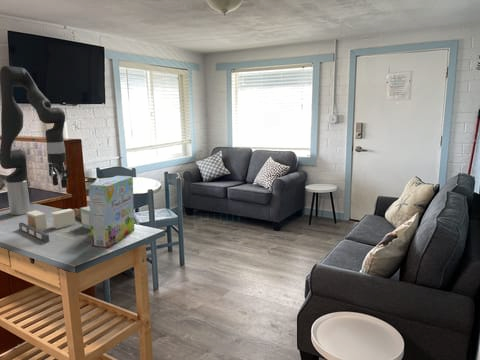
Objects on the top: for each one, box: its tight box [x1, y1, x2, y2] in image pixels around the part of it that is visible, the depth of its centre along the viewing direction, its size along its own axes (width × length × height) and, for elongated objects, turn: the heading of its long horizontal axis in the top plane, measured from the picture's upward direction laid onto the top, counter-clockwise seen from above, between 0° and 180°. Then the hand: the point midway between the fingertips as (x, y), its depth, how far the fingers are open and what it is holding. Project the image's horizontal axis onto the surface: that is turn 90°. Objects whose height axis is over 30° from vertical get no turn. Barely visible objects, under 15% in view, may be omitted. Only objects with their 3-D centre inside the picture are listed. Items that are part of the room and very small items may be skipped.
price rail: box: [18, 222, 50, 243], centre depth 158 cm, size 26×2×3 cm, turn 53°
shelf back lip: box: [73, 208, 81, 219], centre depth 179 cm, size 26×1×4 cm, turn 53°
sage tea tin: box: [79, 205, 91, 231], centre depth 170 cm, size 8×5×9 cm, turn 53°
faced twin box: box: [26, 210, 48, 231], centre depth 169 cm, size 5×9×7 cm, turn 53°
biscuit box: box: [50, 208, 76, 230], centre depth 172 cm, size 5×9×7 cm, turn 143°
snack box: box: [88, 175, 135, 248], centre depth 153 cm, size 22×9×26 cm, turn 168°
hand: (60, 186), depth 169 cm, fingers open, 8 cm apart
